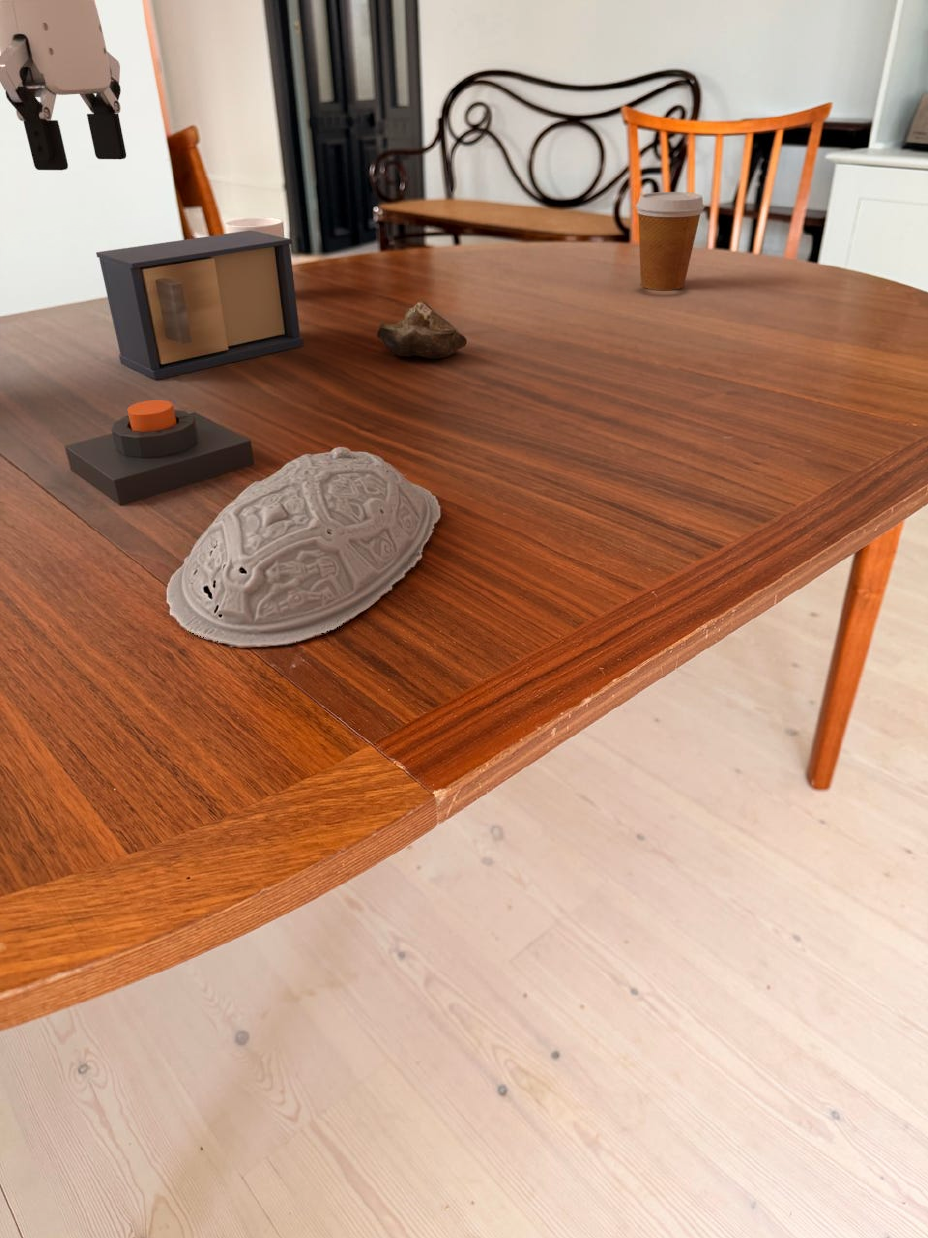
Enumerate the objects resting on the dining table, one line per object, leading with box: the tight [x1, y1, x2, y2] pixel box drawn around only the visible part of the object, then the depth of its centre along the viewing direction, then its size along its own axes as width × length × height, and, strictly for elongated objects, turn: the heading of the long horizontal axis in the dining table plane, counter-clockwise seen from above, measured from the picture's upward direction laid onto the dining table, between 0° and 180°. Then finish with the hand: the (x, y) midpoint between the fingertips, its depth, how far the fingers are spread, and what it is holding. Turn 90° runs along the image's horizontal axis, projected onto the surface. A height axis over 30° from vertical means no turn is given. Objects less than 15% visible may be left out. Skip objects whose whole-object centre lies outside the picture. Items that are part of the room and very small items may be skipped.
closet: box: [95, 230, 304, 381], centre depth 103 cm, size 19×9×12 cm, turn 132°
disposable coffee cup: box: [635, 191, 706, 291], centre depth 129 cm, size 10×10×12 cm
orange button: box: [127, 399, 177, 432], centre depth 74 cm, size 4×4×2 cm
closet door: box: [140, 257, 228, 364], centre depth 97 cm, size 8×4×10 cm, turn 132°
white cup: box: [225, 217, 285, 238], centre depth 128 cm, size 8×8×10 cm
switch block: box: [64, 409, 255, 507], centre depth 76 cm, size 12×10×4 cm
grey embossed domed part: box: [166, 446, 442, 649], centre depth 62 cm, size 16×25×7 cm, turn 159°
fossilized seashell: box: [376, 300, 468, 360], centre depth 103 cm, size 8×7×10 cm
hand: (83, 163), depth 87 cm, fingers open, 9 cm apart
